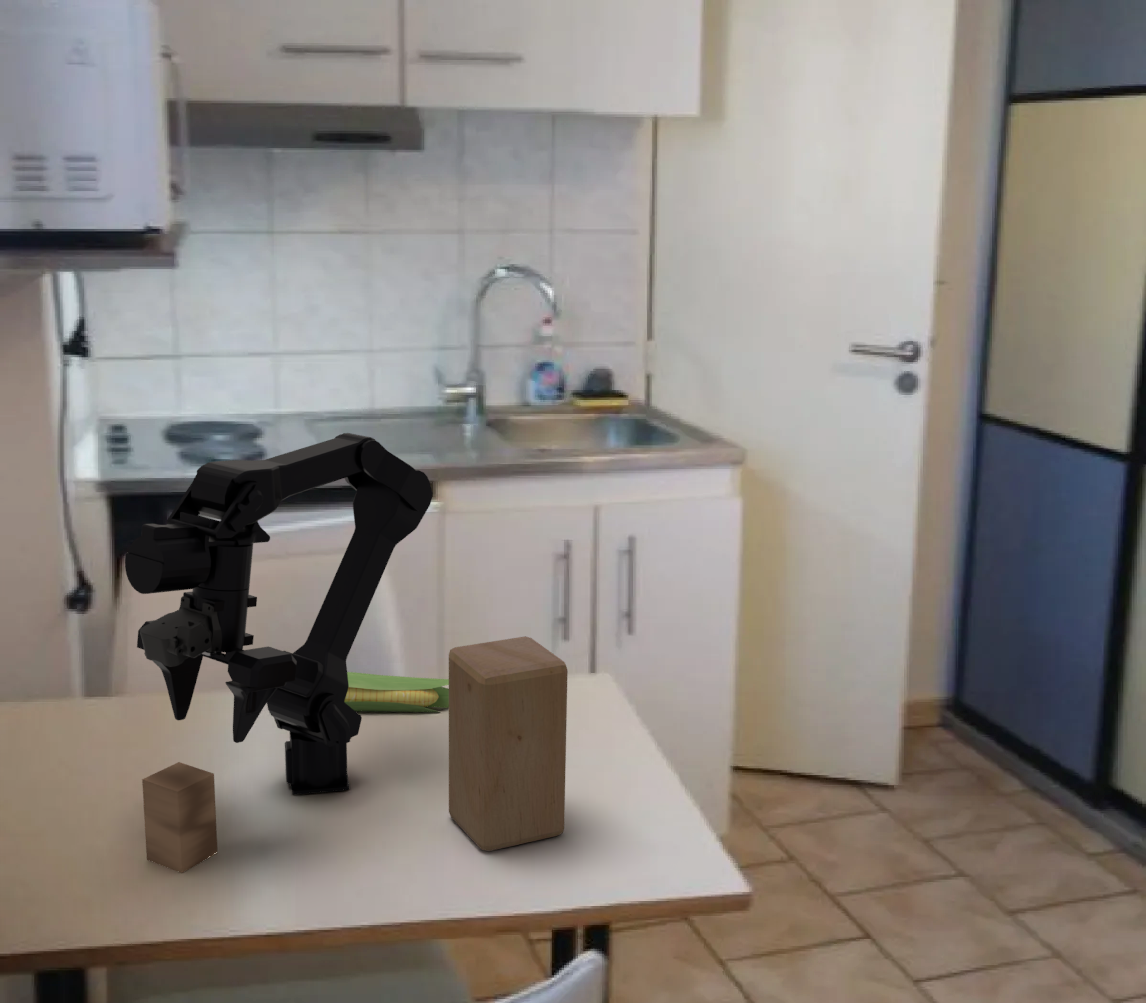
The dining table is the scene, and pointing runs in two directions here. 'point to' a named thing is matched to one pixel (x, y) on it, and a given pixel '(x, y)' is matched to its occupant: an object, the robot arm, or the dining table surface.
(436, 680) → the edible corn
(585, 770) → the dining table surface
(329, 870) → the dining table surface
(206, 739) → the dining table surface
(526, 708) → the wooden block
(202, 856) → the walnut block
